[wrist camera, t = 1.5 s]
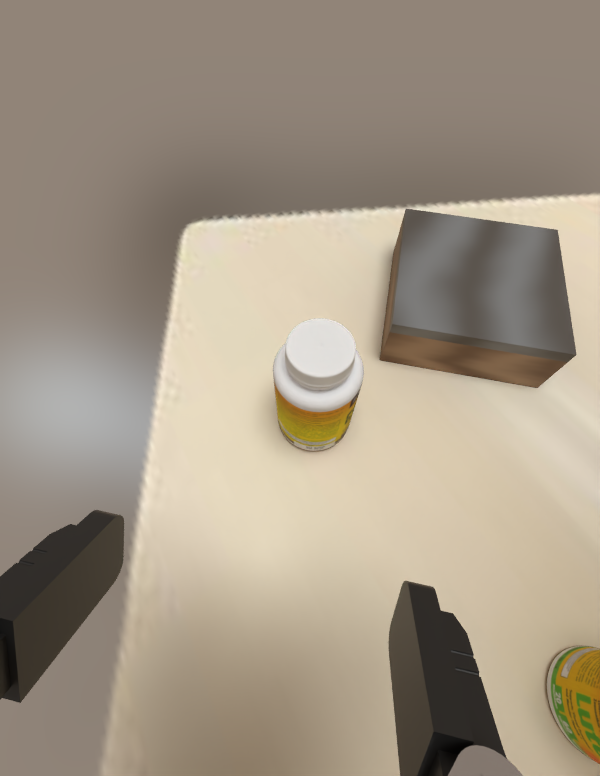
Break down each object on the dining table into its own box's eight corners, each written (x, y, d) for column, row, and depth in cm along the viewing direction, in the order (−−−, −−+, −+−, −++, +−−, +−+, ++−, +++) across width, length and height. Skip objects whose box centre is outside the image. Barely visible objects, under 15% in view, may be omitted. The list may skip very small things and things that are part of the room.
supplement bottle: (350, 454, 29) (374, 392, 20) (276, 452, 29) (266, 389, 20) (348, 388, 32) (368, 307, 23) (280, 386, 32) (273, 304, 23)
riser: (526, 272, 38) (557, 229, 33) (537, 387, 32) (576, 354, 27) (393, 252, 39) (405, 208, 34) (379, 360, 33) (392, 324, 28)
